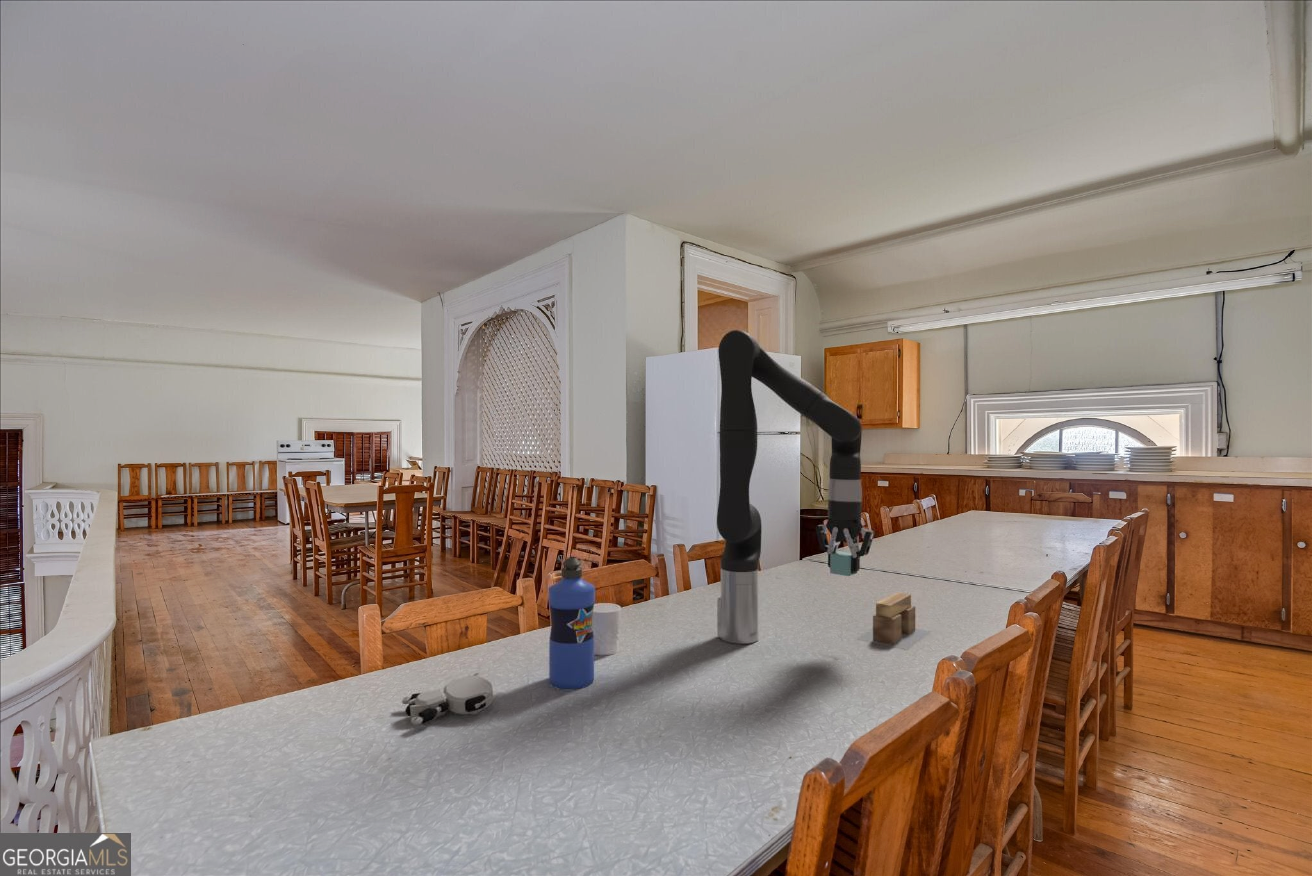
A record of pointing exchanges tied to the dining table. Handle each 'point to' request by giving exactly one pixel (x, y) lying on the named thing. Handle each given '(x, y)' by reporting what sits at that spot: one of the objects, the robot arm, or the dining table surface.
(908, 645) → the board
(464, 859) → the dining table surface
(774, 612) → the dining table surface
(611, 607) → the white cup
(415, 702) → the robot toy
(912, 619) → the pillar
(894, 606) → the plank
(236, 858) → the dining table surface
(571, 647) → the water bottle
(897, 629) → the pillar
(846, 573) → the cube
